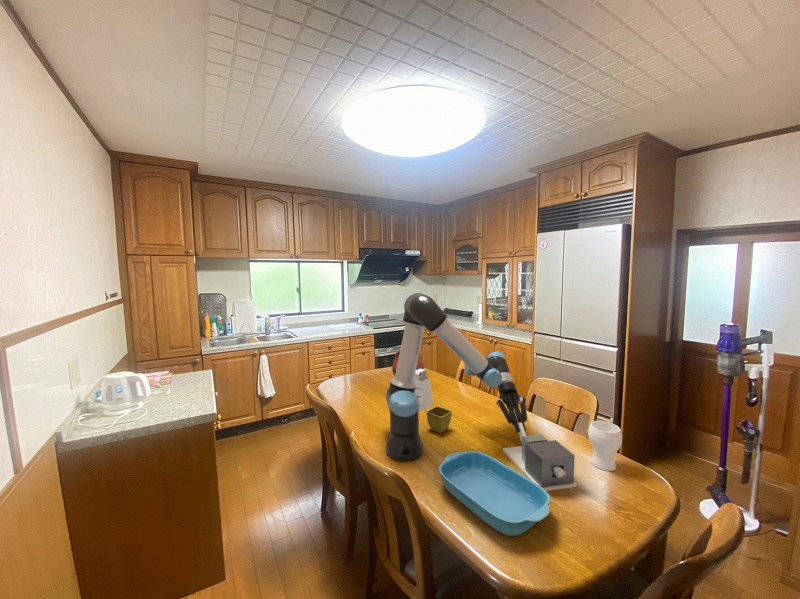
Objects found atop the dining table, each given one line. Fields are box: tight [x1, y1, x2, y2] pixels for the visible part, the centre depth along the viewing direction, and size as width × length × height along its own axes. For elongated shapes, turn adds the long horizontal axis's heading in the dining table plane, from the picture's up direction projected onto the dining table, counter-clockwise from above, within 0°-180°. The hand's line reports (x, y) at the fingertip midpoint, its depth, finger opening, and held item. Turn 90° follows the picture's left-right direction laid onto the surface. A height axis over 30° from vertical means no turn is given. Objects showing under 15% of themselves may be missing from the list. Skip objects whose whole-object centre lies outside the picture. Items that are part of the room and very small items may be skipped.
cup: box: [587, 420, 623, 472], centre depth 121 cm, size 11×11×15 cm
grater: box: [414, 368, 434, 412], centre depth 177 cm, size 10×10×20 cm
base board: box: [502, 445, 578, 492], centre depth 121 cm, size 26×14×1 cm, turn 10°
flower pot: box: [426, 405, 453, 434], centre depth 150 cm, size 9×9×9 cm
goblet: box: [391, 350, 425, 376], centre depth 197 cm, size 19×19×25 cm
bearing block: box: [525, 439, 575, 488], centre depth 114 cm, size 10×12×10 cm
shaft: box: [521, 434, 566, 480], centre depth 115 cm, size 18×8×9 cm, turn 10°
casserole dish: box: [438, 450, 551, 537], centre depth 104 cm, size 37×22×7 cm, turn 35°
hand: (524, 440), depth 128 cm, fingers closed
